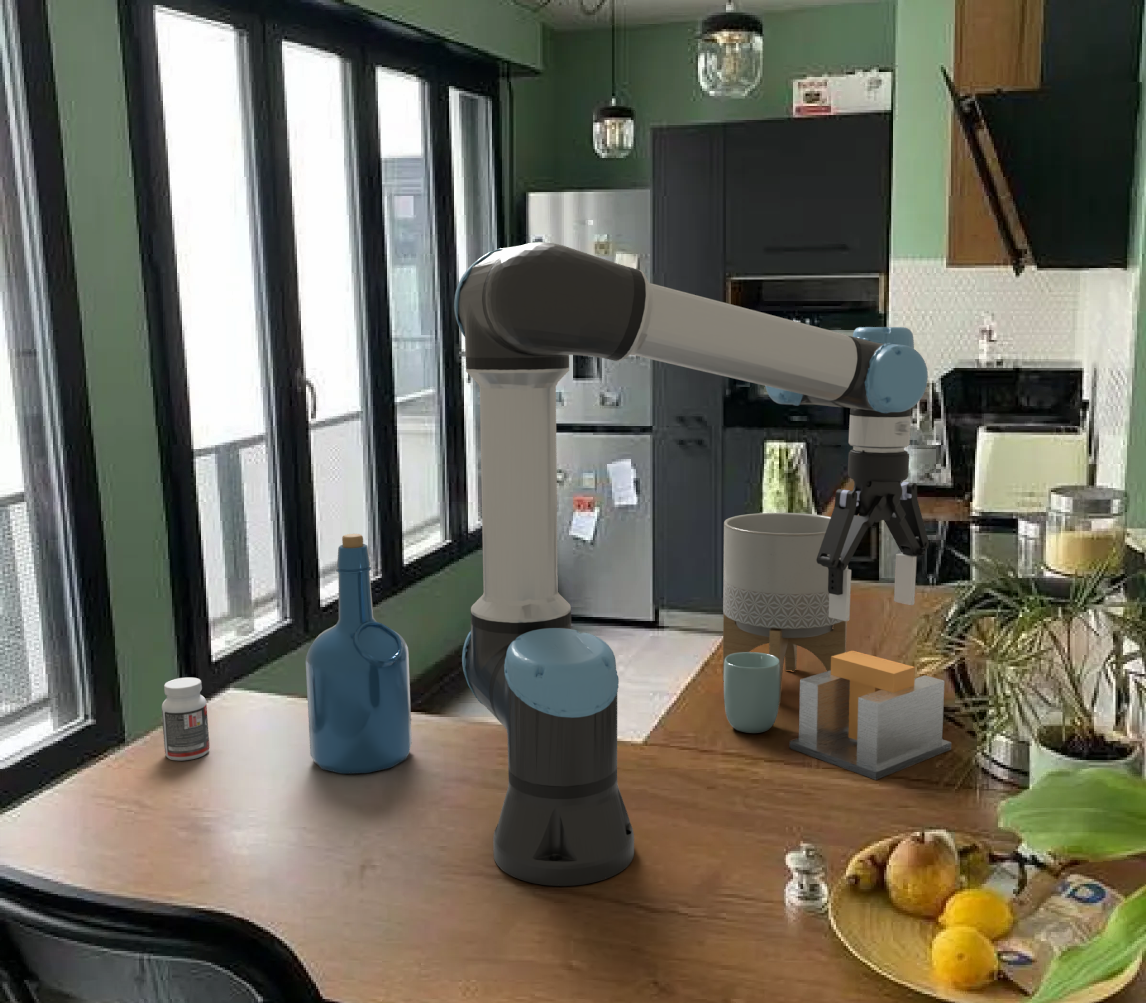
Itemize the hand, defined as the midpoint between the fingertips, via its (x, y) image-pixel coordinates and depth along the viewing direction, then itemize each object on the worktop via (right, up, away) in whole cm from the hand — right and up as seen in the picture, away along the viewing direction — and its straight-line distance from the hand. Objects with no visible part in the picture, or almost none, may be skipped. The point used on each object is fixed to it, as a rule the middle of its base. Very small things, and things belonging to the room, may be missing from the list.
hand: (872, 610), depth 148 cm
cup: (-14, -18, +11) cm, 25 cm away
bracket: (+1, -19, +3) cm, 19 cm away
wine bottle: (-67, -20, +2) cm, 70 cm away
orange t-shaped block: (0, -17, +3) cm, 17 cm away
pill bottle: (-91, -20, +4) cm, 93 cm away
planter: (-6, -15, +30) cm, 34 cm away
